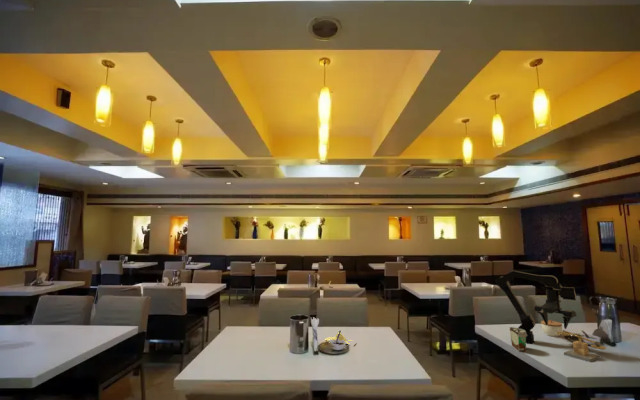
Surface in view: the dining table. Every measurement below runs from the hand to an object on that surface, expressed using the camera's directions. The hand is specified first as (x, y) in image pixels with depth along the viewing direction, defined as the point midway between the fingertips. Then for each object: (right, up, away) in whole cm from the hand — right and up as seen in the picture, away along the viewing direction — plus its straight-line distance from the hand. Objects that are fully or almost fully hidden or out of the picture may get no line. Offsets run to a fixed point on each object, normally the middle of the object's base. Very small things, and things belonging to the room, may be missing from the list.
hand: (555, 326), depth 173 cm
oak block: (+2, -8, -15) cm, 17 cm away
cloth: (-122, -14, +9) cm, 123 cm away
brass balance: (+11, -11, -3) cm, 16 cm away
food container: (-22, -11, -4) cm, 25 cm away
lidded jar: (+13, -14, +20) cm, 28 cm away
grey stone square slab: (+2, -9, -15) cm, 18 cm away
